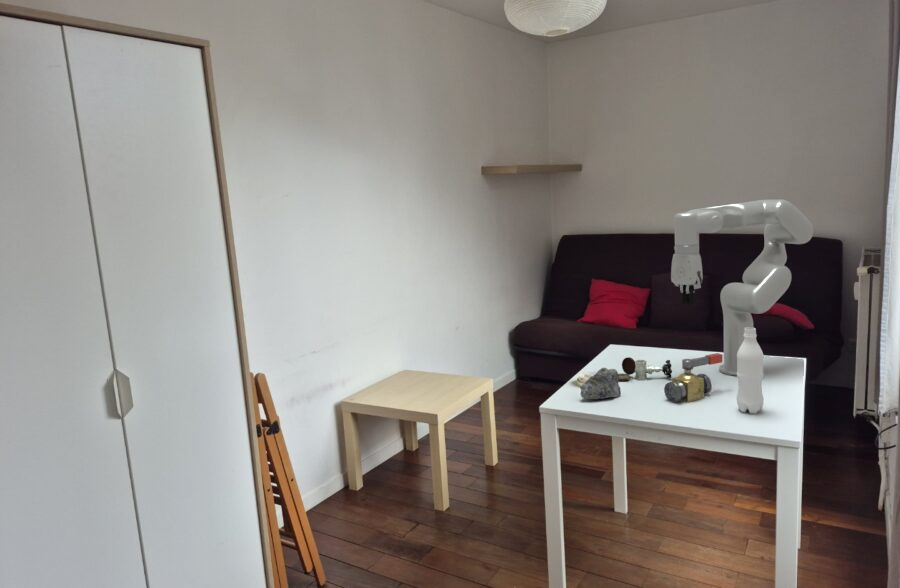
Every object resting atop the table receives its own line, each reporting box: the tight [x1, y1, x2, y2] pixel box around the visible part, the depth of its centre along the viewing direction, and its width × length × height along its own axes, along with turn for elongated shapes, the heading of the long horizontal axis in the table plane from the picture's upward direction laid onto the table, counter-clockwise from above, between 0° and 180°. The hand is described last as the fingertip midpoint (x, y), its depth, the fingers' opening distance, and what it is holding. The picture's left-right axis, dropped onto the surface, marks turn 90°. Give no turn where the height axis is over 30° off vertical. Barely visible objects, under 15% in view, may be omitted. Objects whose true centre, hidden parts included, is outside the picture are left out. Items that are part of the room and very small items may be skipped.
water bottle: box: [736, 326, 765, 415], centre depth 193 cm, size 7×7×25 cm
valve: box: [634, 359, 673, 381], centre depth 231 cm, size 7×7×12 cm
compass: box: [618, 356, 636, 382], centre depth 232 cm, size 8×8×7 cm
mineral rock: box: [579, 367, 621, 400], centre depth 216 cm, size 13×11×10 cm
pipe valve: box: [663, 369, 713, 404], centre depth 209 cm, size 14×8×9 cm, turn 117°
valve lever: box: [681, 352, 723, 371], centre depth 210 cm, size 15×3×3 cm, turn 111°
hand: (687, 304), depth 220 cm, fingers closed
